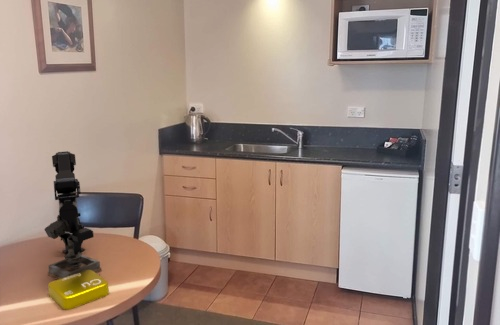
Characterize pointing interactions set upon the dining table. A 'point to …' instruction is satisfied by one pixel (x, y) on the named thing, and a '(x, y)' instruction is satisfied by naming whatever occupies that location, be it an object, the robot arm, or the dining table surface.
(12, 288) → the dining table surface
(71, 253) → the dark grey chess piece
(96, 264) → the socket
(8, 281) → the dining table surface
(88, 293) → the element tile
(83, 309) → the dining table surface
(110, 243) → the dining table surface
